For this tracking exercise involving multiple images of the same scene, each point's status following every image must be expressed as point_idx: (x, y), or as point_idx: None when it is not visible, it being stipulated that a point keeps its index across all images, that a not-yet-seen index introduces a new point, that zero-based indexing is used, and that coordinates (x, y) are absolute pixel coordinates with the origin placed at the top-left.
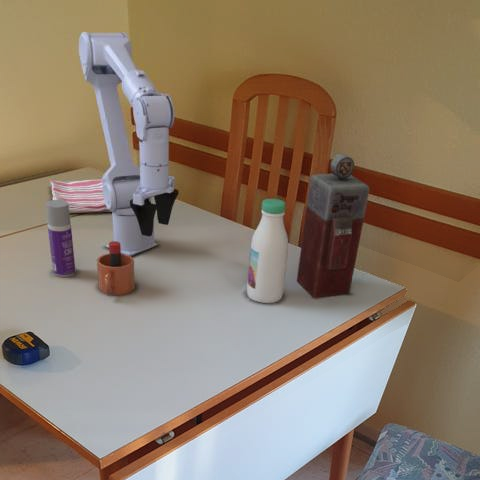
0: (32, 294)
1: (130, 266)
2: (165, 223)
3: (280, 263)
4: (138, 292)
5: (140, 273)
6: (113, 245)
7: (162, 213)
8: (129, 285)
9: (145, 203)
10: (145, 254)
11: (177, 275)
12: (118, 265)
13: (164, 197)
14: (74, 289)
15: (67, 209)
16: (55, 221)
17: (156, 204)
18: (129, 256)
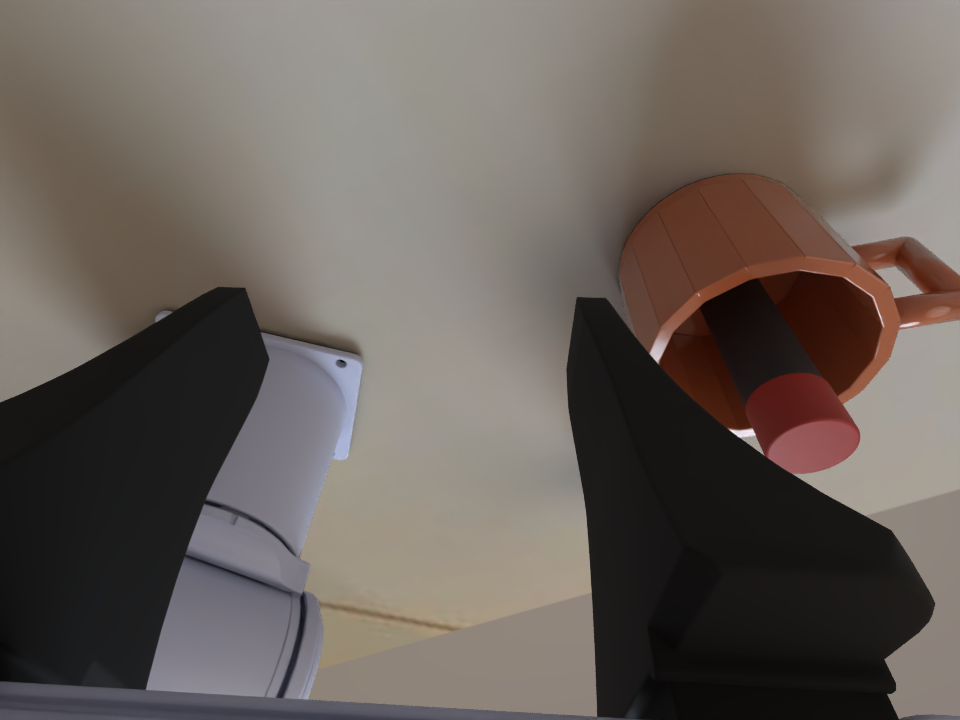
0: (849, 473)
1: (821, 250)
2: (246, 308)
3: None
4: (750, 132)
5: (501, 236)
6: (859, 440)
7: (210, 401)
8: (783, 195)
9: (831, 703)
10: (285, 311)
11: (404, 11)
12: (784, 322)
13: (84, 555)
14: None
15: None
16: None
17: (711, 589)
18: (678, 318)
